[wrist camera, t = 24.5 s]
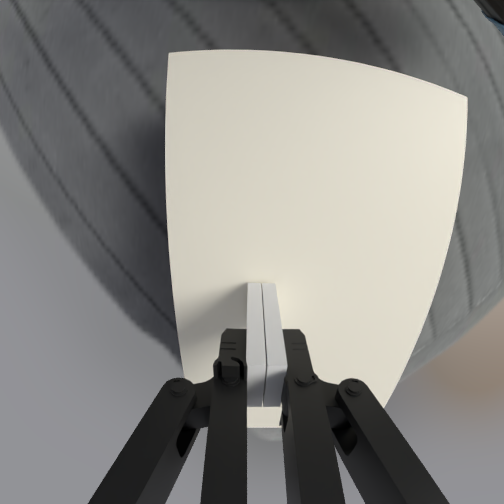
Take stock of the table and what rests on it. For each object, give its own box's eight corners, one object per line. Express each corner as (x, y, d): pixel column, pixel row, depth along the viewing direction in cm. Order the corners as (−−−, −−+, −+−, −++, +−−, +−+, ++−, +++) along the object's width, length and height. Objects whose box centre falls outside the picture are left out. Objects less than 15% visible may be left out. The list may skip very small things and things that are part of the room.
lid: (456, 98, 13) (467, 97, 12) (374, 409, 24) (378, 418, 23) (174, 58, 13) (168, 53, 12) (194, 414, 23) (193, 424, 22)
